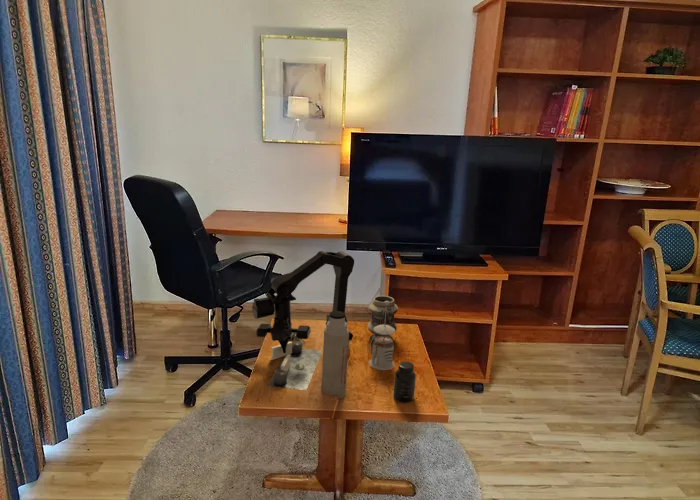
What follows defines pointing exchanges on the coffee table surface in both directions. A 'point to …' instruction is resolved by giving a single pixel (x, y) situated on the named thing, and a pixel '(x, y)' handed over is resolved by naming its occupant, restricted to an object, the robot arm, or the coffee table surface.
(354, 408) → the coffee table surface
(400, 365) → the supplement bottle
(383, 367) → the french press
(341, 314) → the thermos bottle
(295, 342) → the knob
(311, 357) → the plate
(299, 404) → the coffee table surface
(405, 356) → the coffee table surface
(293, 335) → the eagle figurine
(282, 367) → the knob
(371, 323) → the apothecary jar
